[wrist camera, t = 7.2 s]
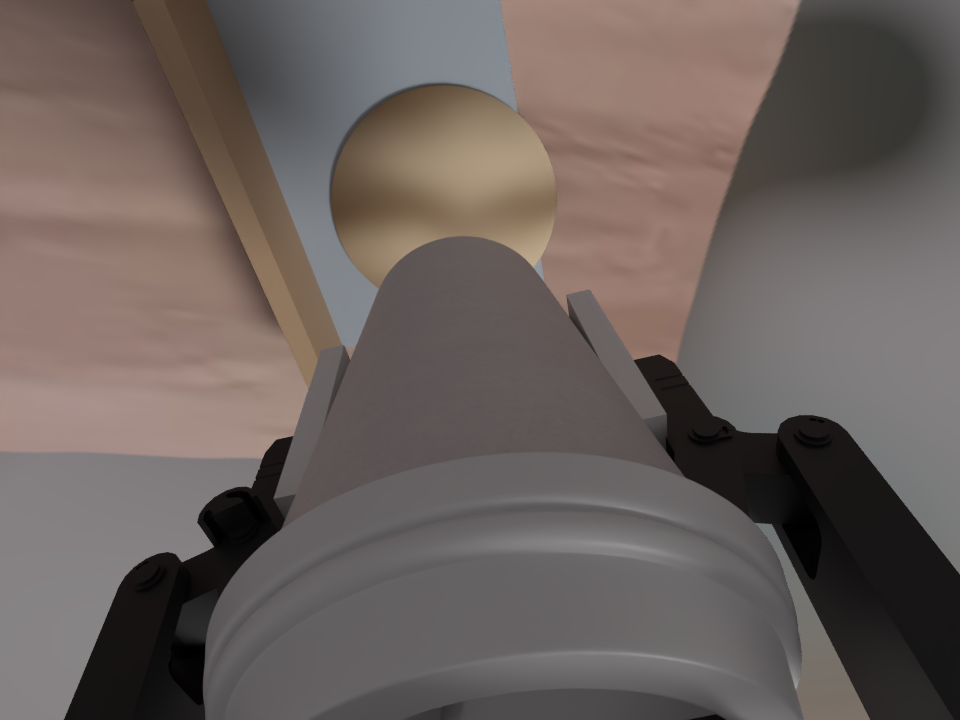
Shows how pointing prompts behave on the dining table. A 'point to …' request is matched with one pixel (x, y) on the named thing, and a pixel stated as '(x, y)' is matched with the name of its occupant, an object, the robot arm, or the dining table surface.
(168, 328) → the dining table surface
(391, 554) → the coffee cup
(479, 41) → the tray
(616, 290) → the dining table surface
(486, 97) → the pad
